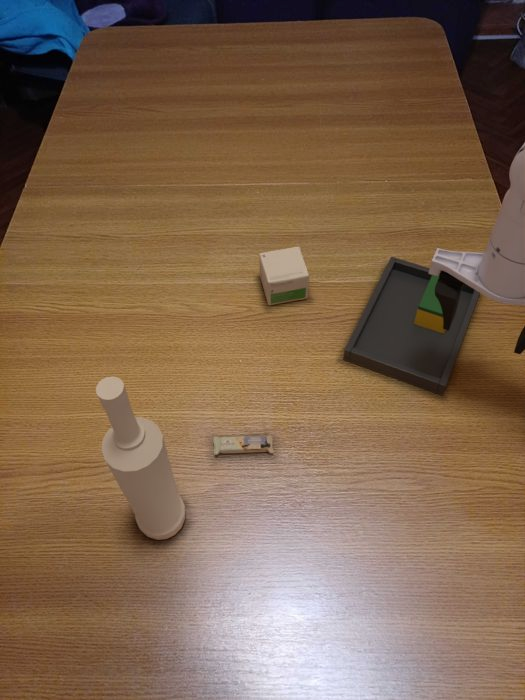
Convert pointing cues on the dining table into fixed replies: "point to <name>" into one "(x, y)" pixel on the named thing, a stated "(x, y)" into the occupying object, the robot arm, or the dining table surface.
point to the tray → (408, 330)
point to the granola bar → (243, 444)
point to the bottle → (140, 464)
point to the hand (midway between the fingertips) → (483, 334)
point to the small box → (284, 275)
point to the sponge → (430, 309)
